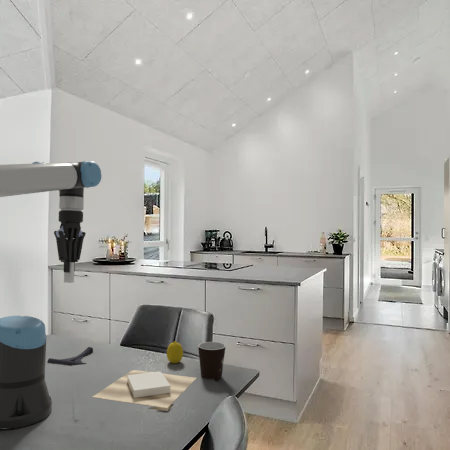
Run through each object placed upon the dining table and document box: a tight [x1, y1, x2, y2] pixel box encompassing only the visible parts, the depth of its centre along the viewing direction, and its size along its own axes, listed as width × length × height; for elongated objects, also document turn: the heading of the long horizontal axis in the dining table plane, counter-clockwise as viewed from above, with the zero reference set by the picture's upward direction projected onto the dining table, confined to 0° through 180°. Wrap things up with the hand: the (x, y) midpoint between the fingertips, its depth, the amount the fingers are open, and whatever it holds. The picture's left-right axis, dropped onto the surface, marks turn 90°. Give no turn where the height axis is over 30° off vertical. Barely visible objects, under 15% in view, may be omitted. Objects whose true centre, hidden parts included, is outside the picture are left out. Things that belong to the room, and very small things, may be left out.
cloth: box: [92, 369, 197, 412], centre depth 116 cm, size 22×22×1 cm
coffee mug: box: [197, 341, 226, 382], centre depth 127 cm, size 12×9×10 cm
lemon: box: [166, 340, 184, 364], centre depth 137 cm, size 6×6×8 cm
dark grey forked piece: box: [47, 346, 94, 366], centre depth 143 cm, size 14×15×3 cm
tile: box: [127, 370, 171, 398], centre depth 115 cm, size 2×10×12 cm
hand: (68, 282), depth 131 cm, fingers closed
